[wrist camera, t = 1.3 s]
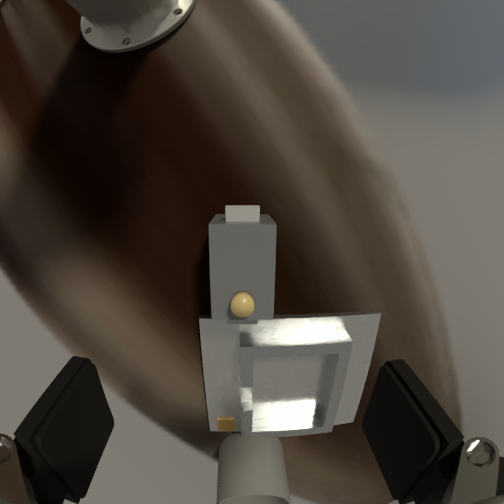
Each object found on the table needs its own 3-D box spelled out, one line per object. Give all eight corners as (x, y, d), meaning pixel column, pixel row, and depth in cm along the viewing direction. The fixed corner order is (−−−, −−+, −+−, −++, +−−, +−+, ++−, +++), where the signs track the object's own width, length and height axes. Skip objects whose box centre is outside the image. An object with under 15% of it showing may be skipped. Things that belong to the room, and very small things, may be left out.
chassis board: (200, 314, 27) (195, 331, 24) (377, 310, 28) (391, 323, 25) (210, 426, 31) (208, 445, 28) (351, 418, 32) (358, 434, 29)
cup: (289, 433, 32) (300, 494, 22) (274, 465, 34) (280, 519, 24) (223, 427, 31) (220, 491, 21) (216, 460, 33) (212, 516, 23)
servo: (216, 201, 25) (206, 209, 18) (268, 201, 25) (278, 209, 18) (217, 301, 27) (211, 339, 20) (266, 301, 27) (274, 339, 20)
